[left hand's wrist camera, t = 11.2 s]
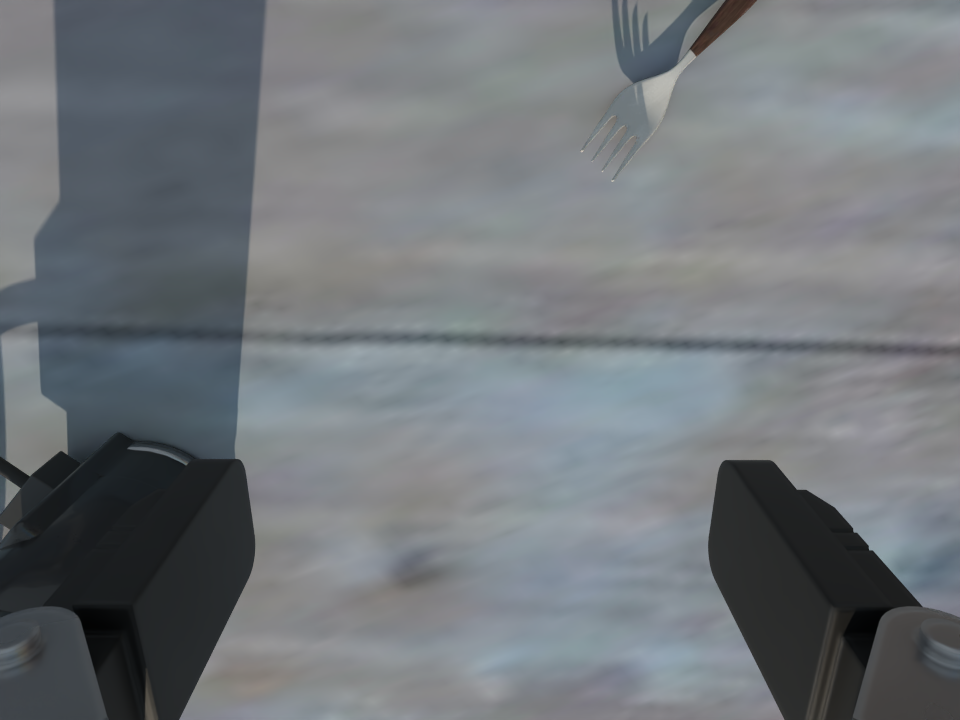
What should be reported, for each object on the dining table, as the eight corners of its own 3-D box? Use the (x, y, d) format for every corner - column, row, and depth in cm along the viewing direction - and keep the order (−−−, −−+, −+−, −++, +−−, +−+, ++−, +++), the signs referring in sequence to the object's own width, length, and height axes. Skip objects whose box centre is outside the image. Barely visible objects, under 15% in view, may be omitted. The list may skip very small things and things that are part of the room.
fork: (858, -91, 30) (882, -103, 29) (608, 180, 35) (615, 185, 33) (822, -136, 30) (844, -152, 28) (572, 145, 34) (577, 148, 32)
